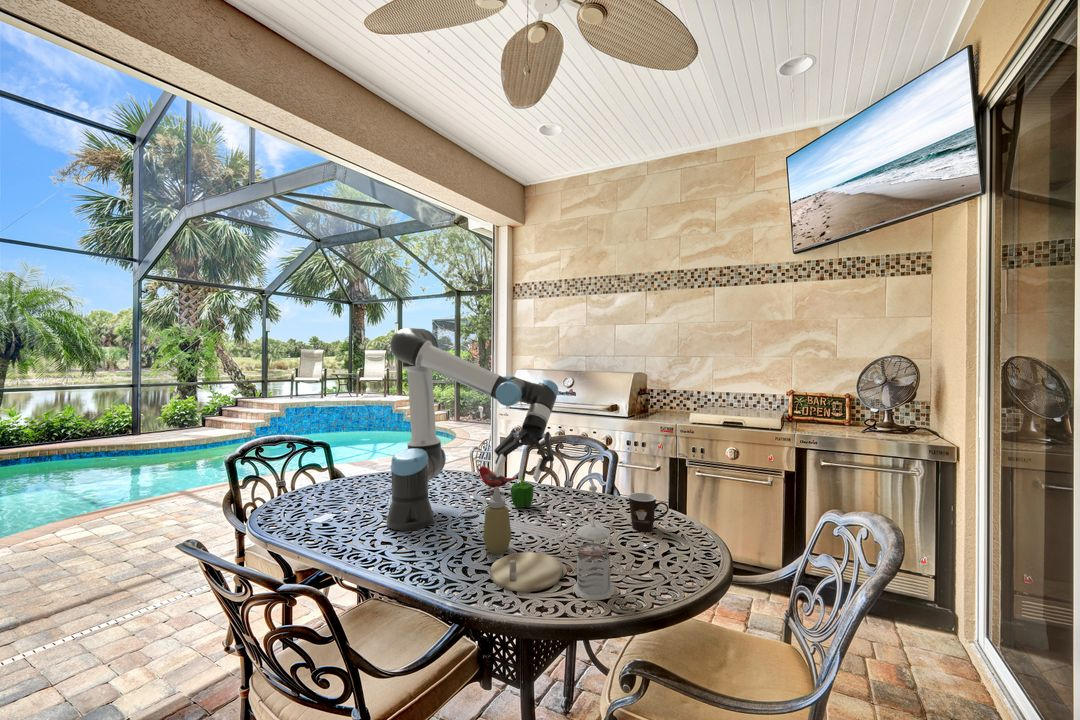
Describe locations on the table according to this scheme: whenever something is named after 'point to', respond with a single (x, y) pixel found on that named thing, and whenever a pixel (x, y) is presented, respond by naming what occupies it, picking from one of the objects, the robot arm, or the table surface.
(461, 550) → the table surface
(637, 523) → the coffee mug
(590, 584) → the french press
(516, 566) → the round beige plate
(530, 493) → the bell pepper
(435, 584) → the table surface
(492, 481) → the decorative bird figurine
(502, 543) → the squeeze bottle
